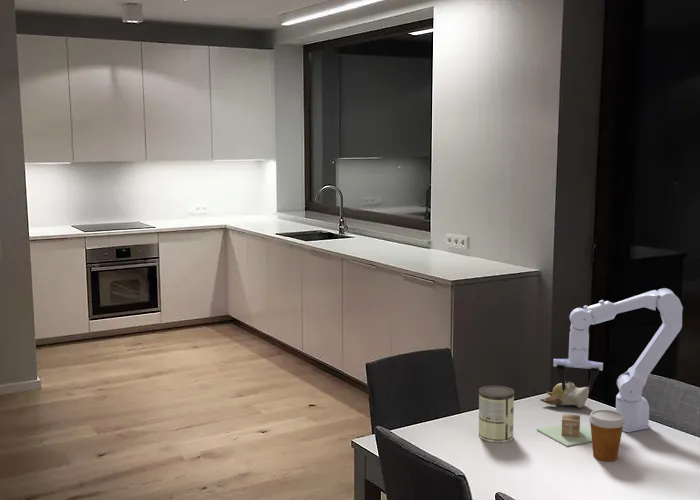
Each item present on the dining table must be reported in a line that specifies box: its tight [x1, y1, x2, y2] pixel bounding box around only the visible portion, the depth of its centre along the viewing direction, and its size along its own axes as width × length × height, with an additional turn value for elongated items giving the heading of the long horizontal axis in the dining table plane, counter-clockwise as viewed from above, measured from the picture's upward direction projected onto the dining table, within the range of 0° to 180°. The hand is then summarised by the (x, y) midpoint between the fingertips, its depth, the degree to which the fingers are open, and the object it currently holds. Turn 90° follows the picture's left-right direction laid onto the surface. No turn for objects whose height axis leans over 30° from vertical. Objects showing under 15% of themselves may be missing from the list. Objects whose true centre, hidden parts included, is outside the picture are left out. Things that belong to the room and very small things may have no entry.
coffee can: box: [478, 384, 515, 444], centre depth 225 cm, size 10×10×14 cm
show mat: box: [536, 423, 592, 447], centre depth 227 cm, size 14×14×1 cm
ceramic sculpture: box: [540, 380, 590, 409], centre depth 252 cm, size 11×9×15 cm
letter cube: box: [561, 413, 581, 438], centre depth 226 cm, size 5×5×5 cm
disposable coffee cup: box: [588, 409, 625, 462], centre depth 210 cm, size 10×10×12 cm
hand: (576, 390), depth 235 cm, fingers open, 7 cm apart
